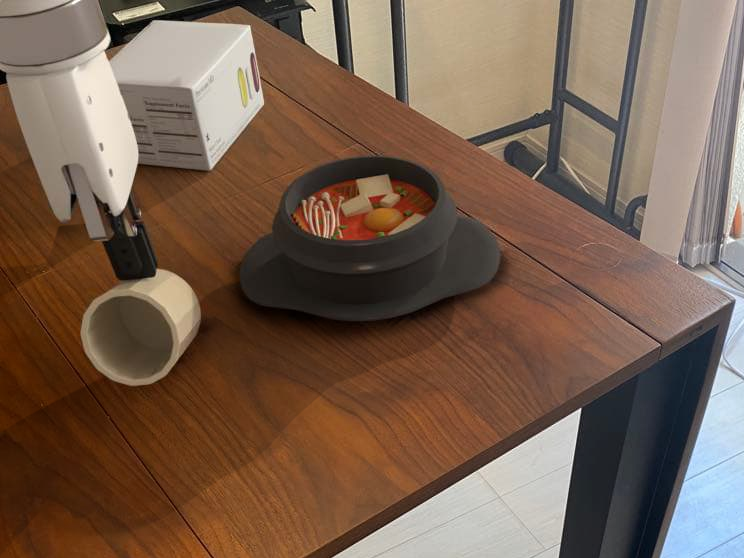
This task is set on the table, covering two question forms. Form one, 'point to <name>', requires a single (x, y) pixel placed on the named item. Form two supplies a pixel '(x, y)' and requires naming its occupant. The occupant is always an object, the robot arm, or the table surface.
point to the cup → (141, 328)
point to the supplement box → (188, 90)
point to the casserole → (367, 243)
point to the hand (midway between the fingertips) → (138, 272)
